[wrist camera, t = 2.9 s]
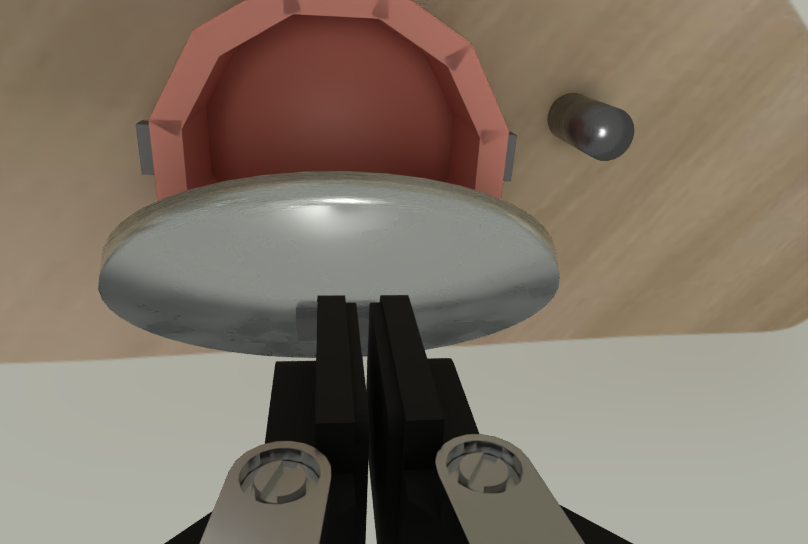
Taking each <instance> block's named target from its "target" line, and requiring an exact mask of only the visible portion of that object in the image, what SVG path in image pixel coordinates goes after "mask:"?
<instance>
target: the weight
mask: <svg viewBox="0 0 808 544" xmlns="http://www.w3.org/2000/svg"><path fill="white" fill-rule="evenodd" d="M548 125H549V128H550V130H551V132H552V133H553V134H554V135H555V136H556V137H558V138H560V139H562V140H563V141H565V142H567V143H569V144H570V145H572V146H574V147H575V148H577V149H579V150H581V151H582V152H584V153H586V154H588V155H589V156H591V157H593V158H595V159H597V160H600V161H609V160H613V159H615V158H617V157H619V156H621V155H622V154H623V153H624V152H625V151H626V150H627V149H628V147H629V146H630V144H631V142H632V140H633V136H634V124H633V121H632V119H631V117H630V116H629V115H628V114H627V113H626V112H625V111H623V110H621V109H619V108H616V107H613V106H610V105H607V104H605V103H602V102H599V101H596V100H594V99H591V98H588V97H585V96H583V95H580V94H576V93H570V94H566V95H563V96H561V97H560V98H558V99H557V100H556V101H555V102H554V103H553V105H552V106H551V108H550V111H549V114H548Z"/></svg>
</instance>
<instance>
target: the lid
mask: <svg viewBox="0 0 808 544" xmlns="http://www.w3.org/2000/svg"><path fill="white" fill-rule="evenodd" d="M559 279H560V276H559V270H558V263H557V256H556V250H555V246H554V243H553V240H552V237H551V236H550V234H549V233H548V232H547V230H546V229H545V227H544V226H543V225H542V224H540V223H539V222H538V221H537V220H536V219H535V218H534V217H532V216H531V215H530V214H528V213H526V212H525V211H523V210H521V209H520V208H518V207H516V206H515V205H513V204H511V203H508V202H506V201H504V200H501V199H499V198H496V197H494V196H492V195H489V194H486V193H483V192H480V191H476V190H473V189H470V188H466V187H463V186H460V185H455V184H450V183H445V182H440V181H436V180H431V179H426V178H419V177H411V176H403V175H395V174H387V173H369V172H351V171H325V172H295V173H283V174H271V175H261V176H254V177H248V178H241V179H235V180H228V181H223V182H219V183H215V184H211V185H206V186H202V187H198V188H194V189H190V190H187V191H184V192H181V193H178V194H175V195H172V196H170V197H167V198H164V199H161V200H159V201H157V202H155V203H153V204H151V205H149V206H147V207H144V208H142V209H140V210H138V211H137V212H135V213H134V214H132V215H131V216H130V217H128V218H127V219H125V220H124V221H122V222H121V223H120V224H119V225H118V226H117V227H116V228H115V229H114V230H113V232H112V233H111V234H110V235H109V237H108V239H107V241H106V243H105V245H104V247H103V253H102V260H101V267H100V274H99V285H98V290H99V293H100V295H101V298H102V300H103V301H104V303H105V304H106V305H107V306H108V307H109V309H110V310H112V311H113V312H114V313H115V314H117V315H118V316H119V317H120V318H122V319H124V320H126V321H127V322H129V323H131V324H133V325H134V326H137V327H139V328H141V329H143V330H146V331H148V332H150V333H153V334H156V335H159V336H162V337H165V338H168V339H172V340H175V341H179V342H183V343H186V344H191V345H195V346H200V347H205V348H210V349H216V350H222V351H228V352H236V353H244V354H253V355H264V356H277V357H299V358H300V357H301V358H316V343H317V295H345V298H346V303H356V304H357V313H358V322H359V331H360V340H361V349H362V357H363V356H368V327H369V304H370V302H379V301H380V295H408V296H409V298H410V302H411V305H412V308H413V312H414V315H415V319H416V322H417V326H418V329H419V332H420V336H421V339H422V343H423V346H424V350H427V349H433V348H439V347H443V346H448V345H453V344H458V343H462V342H466V341H470V340H474V339H477V338H480V337H484V336H487V335H490V334H493V333H496V332H499V331H501V330H504V329H507V328H509V327H511V326H513V325H516V324H518V323H520V322H522V321H524V320H526V319H527V318H529V317H531V316H532V315H534V314H536V313H537V312H538V311H540V310H541V309H542V308H544V307H545V306H546V305H547V304H548V303H549V302H550V301H551V299H552V298H553V297H554V296H555V294H556V292H557V290H558V288H559Z"/></svg>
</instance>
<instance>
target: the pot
mask: <svg viewBox="0 0 808 544" xmlns="http://www.w3.org/2000/svg"><path fill="white" fill-rule="evenodd" d="M136 129H137V138H138V146H139V154H140V163H141V171H142V174H152V175H155V183H156V191H157V200H158V201H159V200H161V199H164V198H167V197H170V196H172V195H175V194H178V193H181V192H184V191H187V190H190V189H194V188H198V187H202V186H206V185H211V184H215V183H219V182H223V181H228V180H235V179H241V178H248V177H254V176H261V175H271V174H283V173H295V172H325V171H351V172H369V173H387V174H395V175H403V176H411V177H419V178H426V179H431V180H436V181H440V182H445V183H450V184H455V185H460V186H463V187H466V188H470V189H473V190H476V191H480V192H483V193H486V194H489V195H492V196H494V197H496V198H499V199H501V194H502V185H503V181H511V176H512V168H513V160H514V152H515V145H516V137H517V135H515V134H514V133H512V132H509V130H508V128H507V125H506V123H505V121H504V118H503V116H502V114H501V111H500V109H499V107H498V104H497V102H496V100H495V97H494V95H493V93H492V90H491V88H490V86H489V83H488V81H487V79H486V76H485V74H484V72H483V69H482V67H481V65H480V62H479V60H478V57H477V55H476V53H475V50H474V48H473V46H472V43H470V42H468V41H467V40H466V39H464V38H463V37H461V36H460V35H459V34H457V33H456V32H454V31H453V30H452V29H450V28H449V27H448V26H446V25H445V24H443V23H442V22H441V21H439V20H438V19H436V18H435V17H434V16H432V15H431V14H429V13H428V12H427V11H425V10H424V9H423V8H421V7H420V6H418V5H417V4H416V3H414V2H413V1H411V0H244V1H242V2H241V3H239V4H237V5H236V6H234V7H232V8H230V9H229V10H227V11H225V12H223V13H222V14H220V15H218V16H216V17H215V18H213V19H211V20H209V21H208V22H206V23H204V24H203V25H201V26H199V27H197V28H196V29H193V30H192V33H191V35H190V37H189V39H188V41H187V43H186V45H185V47H184V49H183V51H182V53H181V55H180V57H179V59H178V61H177V63H176V65H175V67H174V69H173V71H172V73H171V75H170V78H169V80H168V82H167V84H166V86H165V88H164V90H163V92H162V94H161V96H160V98H159V100H158V102H157V104H156V106H155V108H154V110H153V112H152V114H151V116H150V118H149V119H148V121H144V120H142V121H140V122H139V123H137V124H136Z"/></svg>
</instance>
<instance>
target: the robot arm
mask: <svg viewBox="0 0 808 544" xmlns="http://www.w3.org/2000/svg"><path fill="white" fill-rule="evenodd" d="M368 459H369V469H370V479H371V489H372V499H373V509H374V519H375V529H376V539H377V544H633V543H630V542H628V541H627V540H625V539H623V538H621V537H619V536H617V535H616V534H614V533H612V532H610V531H608V530H606V529H604V528H602V527H600V526H599V525H597V524H595V523H593V522H591V521H589V520H587V519H585V518H584V517H582V516H580V515H578V514H576V513H574V512H572V511H570V510H569V509H567V508H565V507H563V506H561V505H559V504H558V502H557V501H556V499H555V498H554V496H553V495H552V493H551V492H550V490H549V489H548V487H547V485H546V484H545V482H544V481H543V479H542V478H541V476H540V475H539V473H538V472H537V470H536V469H535V467H534V466H533V464H532V463H531V461H530V460H529V458H528V457H527V456H526V455H525V454H524V453H523V452H522V451H521V449H519V448H517V447H516V446H514V445H513V444H511V443H510V442H508V441H505V440H503V439H500V438H497V437H494V436H489V435H483V434H479V432H478V429H477V426H476V423H475V421H474V418H473V415H472V412H471V409H470V407H469V404H468V401H467V398H466V396H465V393H464V390H463V388H462V385H461V382H460V379H459V377H458V374H457V371H456V368H455V365H454V363H453V361H452V359H450V358H438V359H437V358H433V359H427V356H426V353H425V350H424V346H423V343H422V339H421V336H420V332H419V329H418V326H417V322H416V319H415V315H414V312H413V308H412V305H411V302H410V298H409V296H408V295H380V301H379V302H370V304H369V327H368V357H367V388H366V385H365V377H364V367H363V358H362V349H361V340H360V331H359V322H358V313H357V304H356V303H346V298H345V295H317V343H316V361H279V362H278V361H277V362H276V364H275V370H274V377H273V385H272V392H271V400H270V408H269V415H268V424H267V431H266V438H265V444H263V445H260V446H258V447H256V448H253V449H251V450H249V451H247V452H246V453H244V454H243V455H242V456H241V457H240V458H238V459H237V460H236V461H235V463H234V464H233V466H232V467H231V469H230V470H229V472H228V475H227V477H226V480H225V483H224V485H223V487H222V490H221V492H220V495H219V497H218V500H217V502H216V504H215V507H214V509H213V511H212V512H210V513H209V514H208V515H206V516H205V517H203V518H202V519H200V520H199V521H197V522H196V523H194V524H193V525H191V526H190V527H188V528H187V529H186V530H184V531H182V532H181V533H179V534H178V535H176V536H175V537H173V538H172V539H170V540H169V541H168V542H166V543H165V544H365V540H366V514H367V486H368Z"/></svg>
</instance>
